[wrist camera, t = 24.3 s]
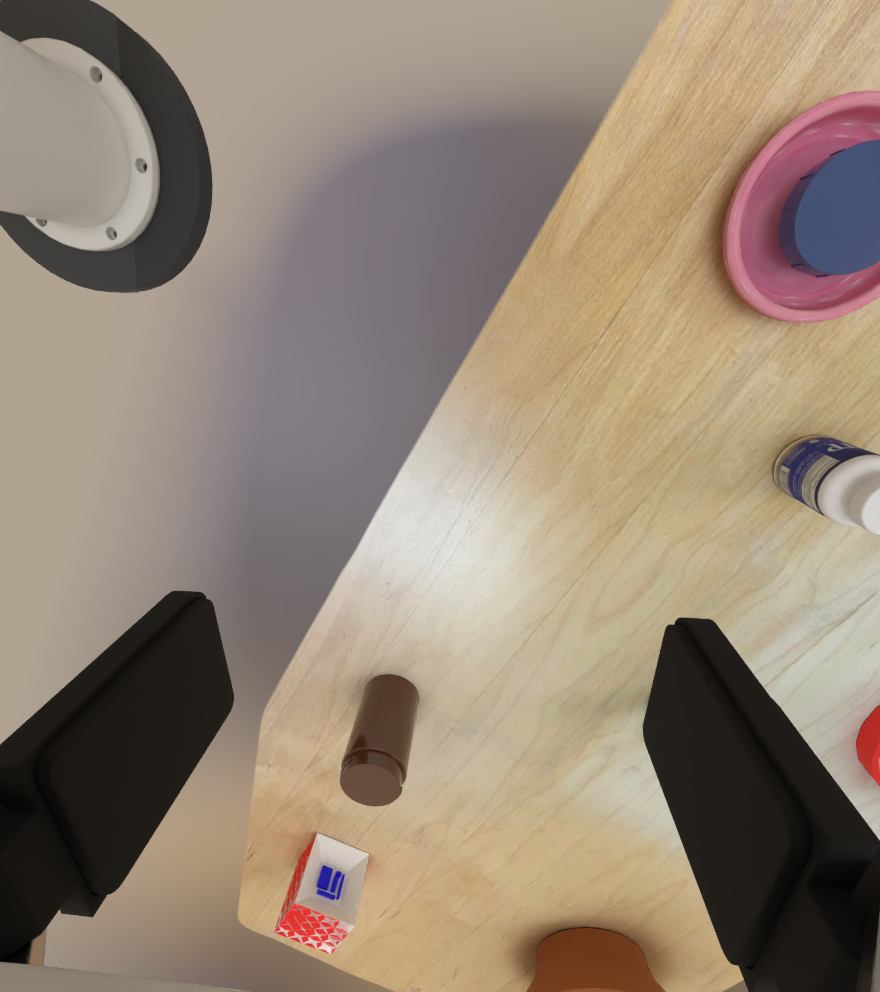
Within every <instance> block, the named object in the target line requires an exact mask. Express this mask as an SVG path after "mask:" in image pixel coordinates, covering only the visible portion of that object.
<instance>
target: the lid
mask: <svg viewBox="0 0 880 992" xmlns="http://www.w3.org/2000/svg"><path fill="white" fill-rule="evenodd" d="M781 212H782V213H781V217H780V220H779V232H778V237H779V242H778V244H780V248H781V251H782V253H783V255H784V257H785V258H786V260H787V262H788V263H789V264H790V265H791V268H795V269H796V270H798V271H800V272H802V273H804V274H807V275H810V276H815V278H820V277H829V276H834V275H844V274H851V273H855V272H859V271H861V270H864V269H866V268H869V267H871V266H873V265H874V264H876V263H878V262H879V261H880V140H871V141H866V142H862V143H859V144H856V145H854V146H852V147H849V148H847V149H845V148H843V149H841V150H839V151H837V152H834V153H832V154H830V156H829V157H828V158H826V159H824V160H822V161H821V162H819V163H818V164H816V165H815V166H814V167H813V168H811V169H810V170H809V171H808V172H807V173H806V174H805V175H804V176H803V177H800V180H799V182H798V183H797V184H796V185H795V187H794V188H793V190H792V192H791V193H790V195H789V197H788V199H787V200H786V202H785V204H784V207H783V209H782V210H781Z"/></svg>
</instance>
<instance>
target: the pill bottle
mask: <svg viewBox="0 0 880 992" xmlns="http://www.w3.org/2000/svg"><path fill="white" fill-rule="evenodd" d="M774 480H775V482H776V484H777V486H778V487H779V488H780V489H781V490H782V491H783V492H785V493H786V494H788V495H790V496H791V497H793V498H795V499H797V500H799V501H800V502H802V503H804V504H805V505H807V506H809V507H810V508H812V509H813V510H815V511H817V512H818V513H820V514H822V515H823V516H825V517H827V518H828V519H830V520H831V521H833V522H835V523H837V524H840V525H843V526H849V527H862V528H864V529H866V530H868V531H869V532H872V533H874V534H877V535H880V455H878V454H875V453H873V452H870V451H867V450H864V449H861V448H858V447H856V446H853V445H850V444H847V443H845V442H842V441H839V440H836V439H834V438H831V437H828V436H821V435H815V436H808V437H804V438H801V439H799V440H797V441H795V442H793V443H792V444H790V445H789V446H788V447H786V448H785V449H784V450H783V451H782V453H781V454H780V455H779V457H778V458H777V460H776V463H775V466H774Z"/></svg>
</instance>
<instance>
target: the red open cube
mask: <svg viewBox="0 0 880 992" xmlns="http://www.w3.org/2000/svg"><path fill="white" fill-rule="evenodd" d="M369 855H370V854H368V853H366V852H363V851H361V850H358V849H356V848H353V847H351V846H349V845H346V844H344V843H341V842H339V841H336V840H334V839H332V838H329V837H327V836H324V835H322V834H319V833H316V835H315V836H314V838H313V839H312V841H311V842H310V844H309V845H308V847H307V848H306V850H305V851H304V853H303V855H302V856H301V857H300V859H299V860H298V862H297V865H296V868H295V871H294V874H293V877H292V880H291V883H290V886H289V889H288V892H287V895H286V898H285V901H284V904H283V907H282V910H281V913H280V916H279V919H278V922H277V925H276V928H275V931H274V933H277V934H279V935H282V936H285V937H287V938H290V939H292V940H295V941H298V942H300V943H303V944H306V945H308V946H311V947H313V948H316V949H319V950H321V951H324V952H326V953H329V954H332V952H333V951H334V950H335V949H336V948H337V946H338V945H339V944H340V943H341V942H342V941H343V939H344V938H345V937H346V936H347V935H348V933H349V932H350V931H351V930H352V929H353V928H354V926H355V922H356V918H357V913H358V907H359V903H360V898H361V893H362V889H363V884H364V879H365V874H366V870H367V865H368V860H369Z"/></svg>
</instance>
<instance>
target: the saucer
mask: <svg viewBox="0 0 880 992" xmlns="http://www.w3.org/2000/svg"><path fill="white" fill-rule="evenodd" d="M871 140H880V91H860V92H853V93H848V94H844V95H840V96H837V97H834V98H831V99H829V100H826V101H824V102H822V103H819V104H817V105H815V106H814V107H812V108H810V109H808V110H806V111H805V112H803V113H802V114H800V115H799V116H797V117H796V118H794V119H793V120H792V121H790V122H789V123H788V124H786V125H785V126H784V127H783V128H781V129H780V130H779V131H778V132H777V133H776V134H775V135H773V136H772V137H771V138H770V139H769V141H768V142H767V143H766V144H765V145H764V146H763V147H762V148H761V149H760V150H759V152H758V153H757V154H756V155H755V157H754V158H753V159H752V161H751V162H750V164H749V165H748V167H747V168H746V170H745V171H744V173H743V175H742V177H741V178H740V180H739V182H738V184H737V186H736V188H735V190H734V192H733V195H732V198H731V200H730V203H729V207H728V210H727V213H726V218H725V223H724V229H723V257H724V263H725V267H726V271H727V274H728V277H729V279H730V281H731V283H732V285H733V287H734V289H735V290H736V292H737V293H738V294H739V296H740V297H741V298H742V299H743V300H744V301H745V302H746V303H747V304H748V305H749V306H750V307H752V308H753V309H754V310H756V311H758V312H759V313H761V314H763V315H765V316H768V317H770V318H773V319H777V320H781V321H787V322H796V323H810V322H819V321H825V320H830V319H833V318H837V317H840V316H843V315H846V314H848V313H851V312H853V311H855V310H857V309H859V308H861V307H863V306H865V305H867V304H868V303H870V302H872V301H873V300H875V299H876V298H878V297H879V296H880V261H879V262H878V263H876V264H874V265H873V266H871V267H869V268H866V269H864V270H861V271H859V272H855V273H851V274H844V275H834V276H829V277H820V278H815V276H810V275H807V274H804V273H802V272H800V271H798V270H796V269H795V268H791V265H790V264H789V263H788V262H787V260H786V258H785V257H784V255H783V253H782V251H781V248H780V244H778V242H779V237H778V232H779V220H780V217H781V213H782V212H781V210H782V209H783V207H784V204H785V202H786V200H787V199H788V197H789V195H790V193H791V192H792V190H793V188H794V187H795V185H796V184H797V183H798V182H799V180H800V177H803V176H804V175H805V174H806V173H807V172H808V171H809V170H810V169H811V168H813V167H814V166H815V165H816V164H818V163H819V162H821V161H822V160H824V159H826V158H828V157H829V156H830V154H832V153H834V152H837V151H839V150H841V149H843V148H845V149H847V148H849V147H852V146H854V145H856V144H859V143H862V142H866V141H871Z"/></svg>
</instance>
